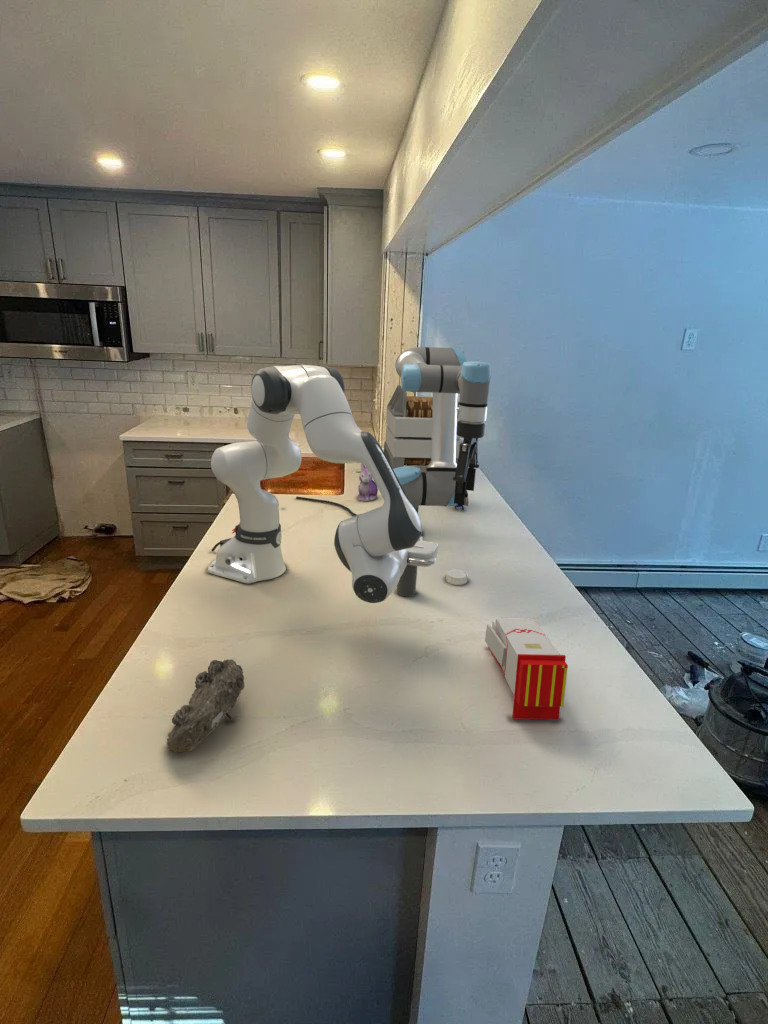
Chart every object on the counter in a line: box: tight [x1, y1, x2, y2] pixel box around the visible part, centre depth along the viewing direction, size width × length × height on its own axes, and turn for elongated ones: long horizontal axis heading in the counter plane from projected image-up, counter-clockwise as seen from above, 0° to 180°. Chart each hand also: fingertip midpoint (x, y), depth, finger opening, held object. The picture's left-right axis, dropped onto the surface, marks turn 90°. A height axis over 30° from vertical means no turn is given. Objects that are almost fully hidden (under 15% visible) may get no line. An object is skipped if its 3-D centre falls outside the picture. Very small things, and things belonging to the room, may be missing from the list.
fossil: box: [166, 658, 245, 754], centre depth 106 cm, size 22×10×15 cm
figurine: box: [357, 464, 379, 502], centre depth 233 cm, size 9×10×15 cm
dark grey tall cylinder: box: [396, 565, 418, 598], centre depth 157 cm, size 5×5×15 cm
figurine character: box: [454, 490, 470, 511], centre depth 230 cm, size 7×8×15 cm
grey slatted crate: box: [383, 384, 464, 469], centre depth 268 cm, size 34×33×41 cm
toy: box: [484, 617, 569, 720], centre depth 122 cm, size 12×13×30 cm
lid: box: [445, 568, 468, 586], centre depth 167 cm, size 6×6×2 cm
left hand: (400, 536), depth 141 cm, fingers open, 8 cm apart
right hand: (464, 496), depth 159 cm, fingers open, 13 cm apart
